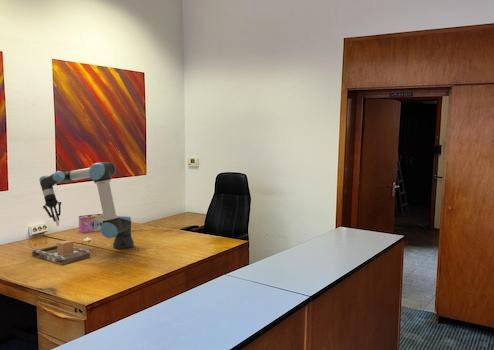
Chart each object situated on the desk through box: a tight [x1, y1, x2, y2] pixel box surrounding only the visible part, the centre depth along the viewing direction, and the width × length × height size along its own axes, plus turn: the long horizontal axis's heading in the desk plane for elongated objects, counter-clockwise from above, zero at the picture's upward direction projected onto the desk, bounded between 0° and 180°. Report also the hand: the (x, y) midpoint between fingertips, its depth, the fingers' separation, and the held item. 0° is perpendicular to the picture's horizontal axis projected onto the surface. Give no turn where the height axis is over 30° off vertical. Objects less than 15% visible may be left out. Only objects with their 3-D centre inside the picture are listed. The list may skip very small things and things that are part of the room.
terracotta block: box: [56, 239, 74, 255], centre depth 292 cm, size 6×8×8 cm
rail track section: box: [31, 245, 91, 265], centre depth 296 cm, size 36×20×4 cm, turn 57°
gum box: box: [78, 213, 104, 234], centre depth 373 cm, size 24×8×14 cm, turn 125°
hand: (58, 225), depth 312 cm, fingers closed
